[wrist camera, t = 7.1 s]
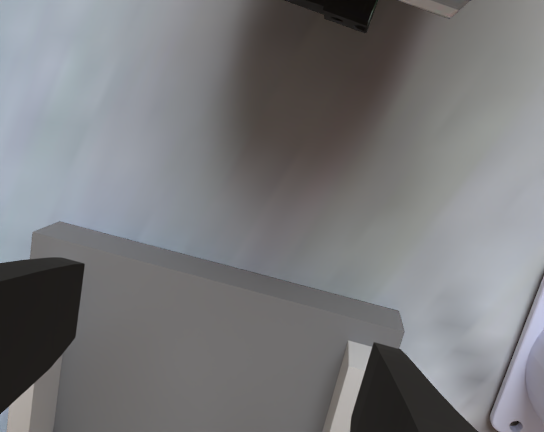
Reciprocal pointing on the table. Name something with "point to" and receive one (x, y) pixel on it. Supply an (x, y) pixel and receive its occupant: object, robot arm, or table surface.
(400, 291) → the table surface
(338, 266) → the table surface
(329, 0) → the circuit breaker
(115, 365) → the grey shallow rectangular tray
